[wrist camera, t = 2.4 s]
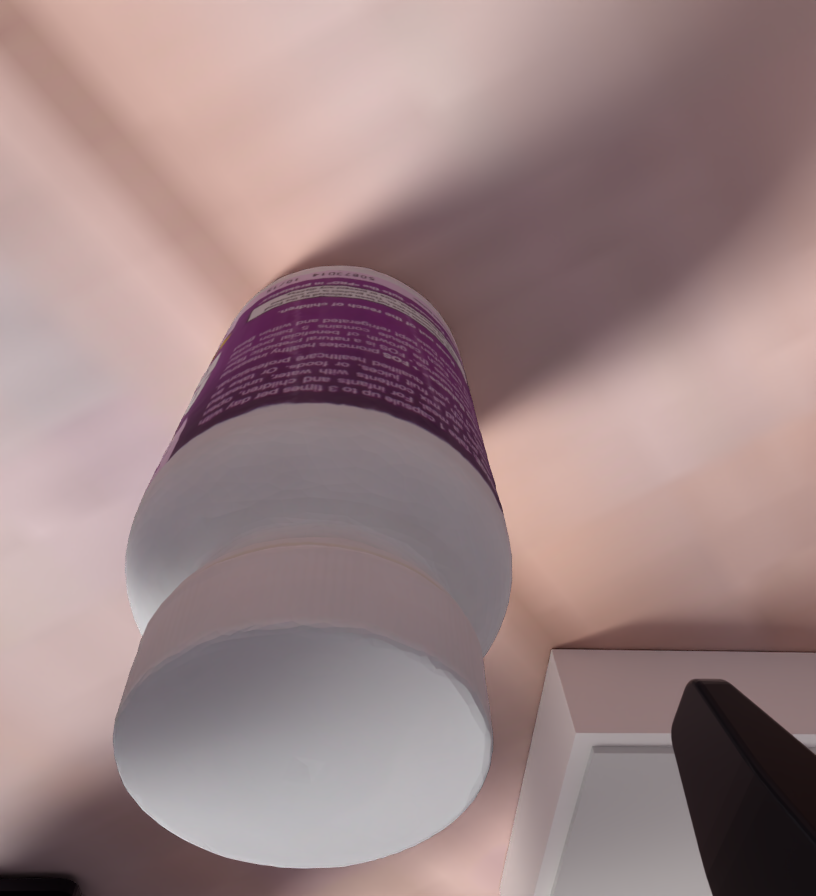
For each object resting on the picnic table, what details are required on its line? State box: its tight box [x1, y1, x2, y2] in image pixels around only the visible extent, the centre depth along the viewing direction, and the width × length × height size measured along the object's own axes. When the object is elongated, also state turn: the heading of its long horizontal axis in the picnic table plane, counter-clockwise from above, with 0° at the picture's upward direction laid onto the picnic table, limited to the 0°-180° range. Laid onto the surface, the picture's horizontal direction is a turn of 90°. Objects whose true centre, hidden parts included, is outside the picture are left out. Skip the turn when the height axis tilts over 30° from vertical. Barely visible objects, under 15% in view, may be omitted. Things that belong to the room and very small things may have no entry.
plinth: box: [499, 649, 816, 896], centre depth 22 cm, size 12×12×3 cm
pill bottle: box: [113, 265, 512, 869], centre depth 12 cm, size 5×5×10 cm
